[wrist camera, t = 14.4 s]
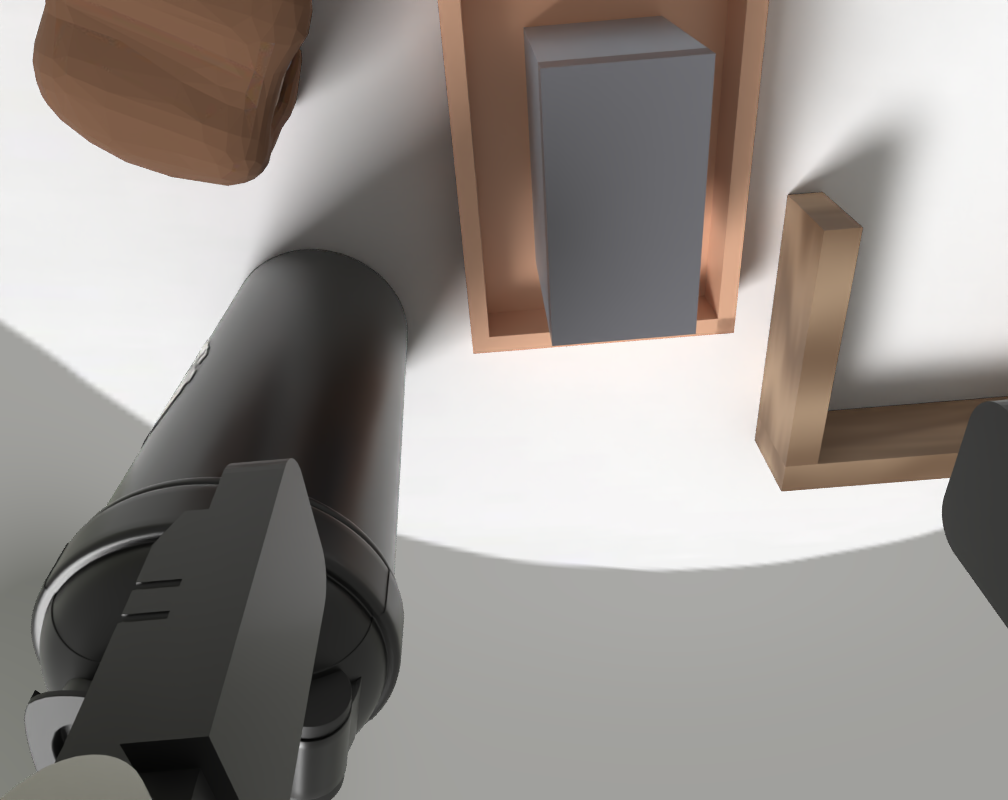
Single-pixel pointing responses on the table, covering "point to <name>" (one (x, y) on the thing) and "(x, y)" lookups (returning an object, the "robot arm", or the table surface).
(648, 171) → the grey rectangular prism
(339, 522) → the water bottle
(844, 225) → the bay
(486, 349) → the tray
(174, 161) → the toy
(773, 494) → the table surface
